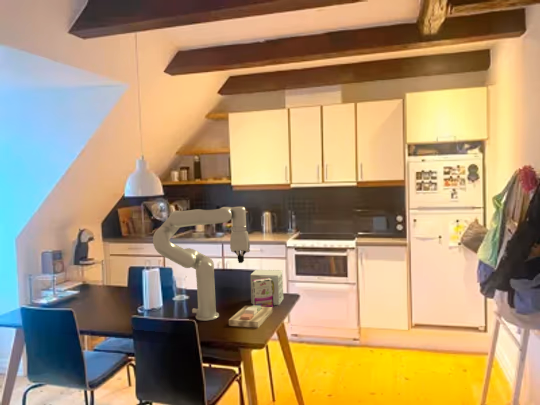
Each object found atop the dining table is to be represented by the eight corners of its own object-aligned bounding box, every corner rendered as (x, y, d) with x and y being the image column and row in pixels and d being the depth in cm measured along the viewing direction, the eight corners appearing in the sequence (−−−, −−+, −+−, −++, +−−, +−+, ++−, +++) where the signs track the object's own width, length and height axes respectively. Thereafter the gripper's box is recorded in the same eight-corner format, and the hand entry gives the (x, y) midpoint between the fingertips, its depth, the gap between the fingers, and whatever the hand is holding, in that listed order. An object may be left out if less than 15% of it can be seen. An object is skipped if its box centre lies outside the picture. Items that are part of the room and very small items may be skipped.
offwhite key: (245, 315, 236) (245, 309, 236) (248, 312, 241) (248, 307, 240) (254, 316, 234) (253, 310, 234) (257, 313, 239) (257, 307, 239)
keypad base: (229, 325, 229) (228, 319, 228) (245, 310, 251) (245, 305, 251) (258, 327, 224) (258, 321, 224) (272, 312, 247) (272, 307, 246)
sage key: (249, 313, 243) (249, 308, 242) (253, 310, 247) (252, 305, 247) (258, 314, 241) (258, 308, 241) (261, 311, 246) (261, 305, 246)
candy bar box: (271, 305, 260) (270, 277, 259) (273, 307, 255) (272, 279, 254) (252, 307, 257) (251, 279, 256) (254, 309, 253) (253, 281, 251)
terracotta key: (240, 322, 229) (240, 316, 229) (244, 318, 234) (243, 313, 234) (249, 322, 228) (249, 317, 228) (252, 319, 232) (252, 313, 232)
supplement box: (250, 304, 263) (249, 274, 262) (256, 298, 276) (255, 269, 275) (279, 305, 259) (278, 275, 258) (283, 298, 272) (282, 269, 271)
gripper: (224, 230, 241) (225, 263, 242) (250, 230, 236) (251, 264, 237) (229, 228, 248) (231, 260, 249) (254, 228, 243) (256, 261, 245)
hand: (241, 262), depth 243 cm, fingers closed
